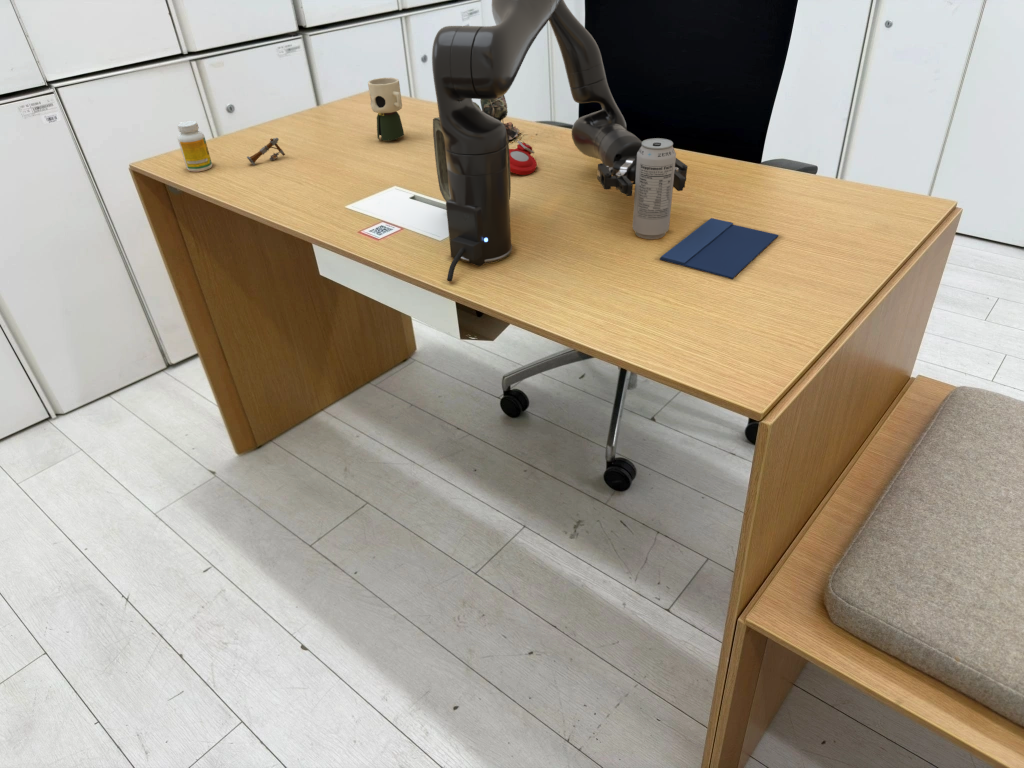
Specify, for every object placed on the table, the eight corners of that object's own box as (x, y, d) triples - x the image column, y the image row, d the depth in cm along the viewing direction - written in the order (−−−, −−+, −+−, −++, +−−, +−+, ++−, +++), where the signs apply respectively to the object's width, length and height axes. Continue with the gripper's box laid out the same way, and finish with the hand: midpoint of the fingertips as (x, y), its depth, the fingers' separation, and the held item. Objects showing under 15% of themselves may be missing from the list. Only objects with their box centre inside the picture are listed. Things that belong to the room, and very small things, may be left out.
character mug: (365, 138, 169) (356, 80, 162) (388, 131, 173) (380, 74, 166) (393, 147, 163) (385, 87, 155) (417, 139, 167) (410, 80, 159)
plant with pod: (471, 141, 164) (464, 47, 153) (503, 128, 171) (498, 38, 160) (498, 147, 160) (493, 50, 148) (529, 134, 167) (527, 41, 155)
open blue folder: (732, 279, 105) (733, 275, 104) (659, 259, 111) (659, 256, 111) (778, 236, 116) (778, 233, 116) (709, 220, 122) (710, 217, 122)
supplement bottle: (183, 168, 157) (170, 123, 151) (207, 162, 159) (195, 118, 154) (192, 174, 153) (178, 128, 148) (216, 168, 156) (203, 123, 150)
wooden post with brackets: (289, 152, 159) (277, 135, 156) (261, 174, 158) (248, 158, 155) (286, 151, 161) (274, 134, 157) (258, 172, 159) (245, 156, 156)
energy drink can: (670, 227, 121) (678, 137, 112) (666, 242, 116) (675, 149, 107) (634, 224, 122) (640, 136, 113) (629, 239, 117) (635, 148, 109)
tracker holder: (542, 169, 143) (494, 161, 141) (536, 188, 147) (489, 180, 144) (535, 138, 151) (489, 130, 149) (530, 156, 155) (485, 149, 152)
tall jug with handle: (440, 212, 130) (425, 65, 116) (487, 203, 133) (478, 59, 118) (464, 242, 119) (451, 84, 105) (514, 232, 122) (509, 77, 107)
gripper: (586, 138, 123) (614, 169, 110) (664, 131, 125) (701, 160, 112) (585, 181, 128) (612, 214, 115) (661, 173, 130) (695, 205, 117)
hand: (656, 187), depth 113 cm, fingers open, 8 cm apart
